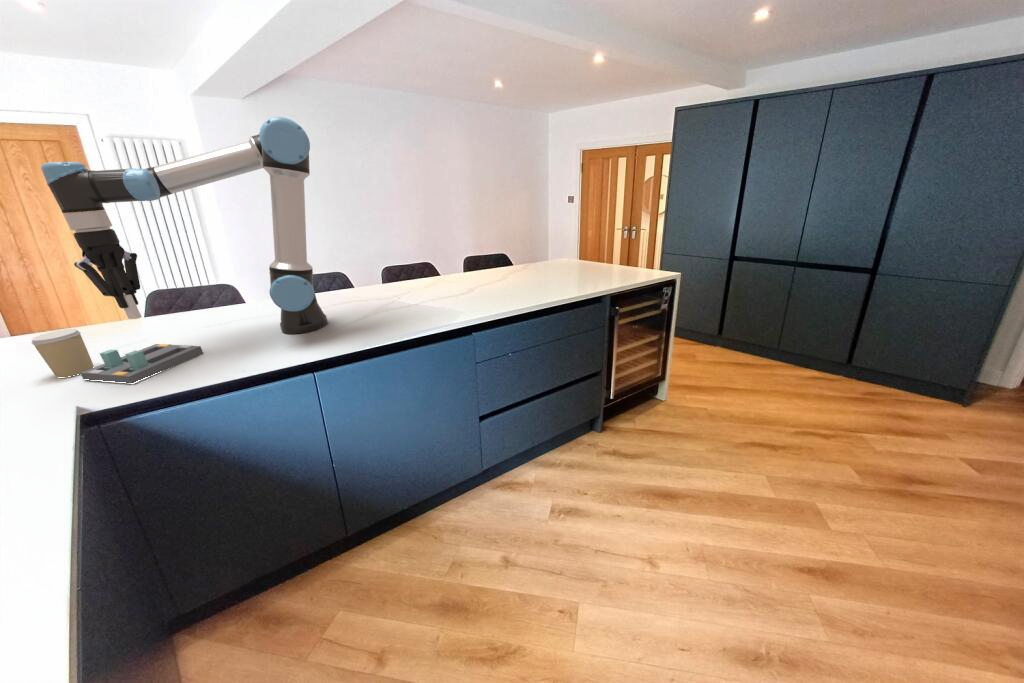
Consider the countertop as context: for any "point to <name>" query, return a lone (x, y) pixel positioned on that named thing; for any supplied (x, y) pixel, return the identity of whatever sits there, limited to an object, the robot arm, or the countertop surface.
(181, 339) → the countertop surface
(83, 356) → the coffee cup
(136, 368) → the tab
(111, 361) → the tab
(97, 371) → the switch board
